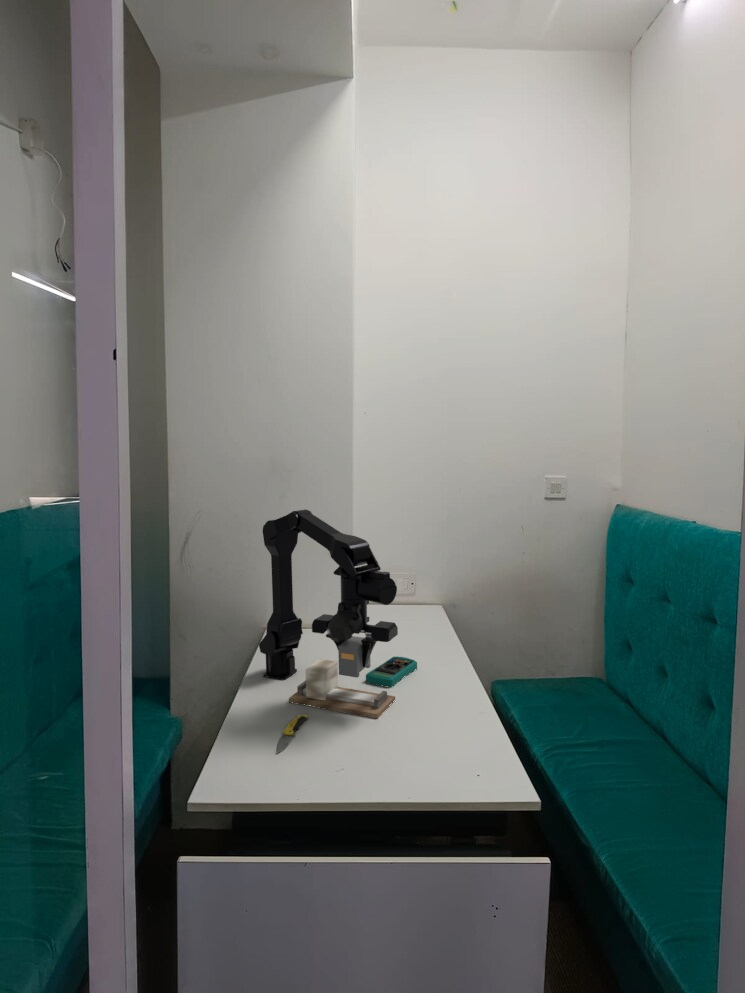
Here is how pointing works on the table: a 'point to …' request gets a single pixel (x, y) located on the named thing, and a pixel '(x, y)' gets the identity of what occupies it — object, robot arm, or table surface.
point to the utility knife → (290, 732)
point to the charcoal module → (351, 657)
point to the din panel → (338, 693)
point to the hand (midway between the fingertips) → (354, 664)
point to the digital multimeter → (391, 671)
